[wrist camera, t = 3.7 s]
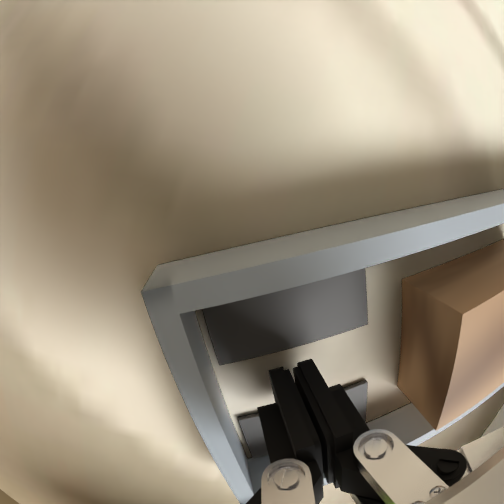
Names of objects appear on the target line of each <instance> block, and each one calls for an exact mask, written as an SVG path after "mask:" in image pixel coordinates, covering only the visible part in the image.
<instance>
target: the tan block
mask: <svg viewBox="0 0 504 504" xmlns="http://www.w3.org/2000/svg"><path fill="white" fill-rule="evenodd" d="M503 383H504V239H502V240H500V241H498V242H495V243H493V244H491V245H489V246H486V247H484V248H481V249H479V250H477V251H474V252H472V253H469V254H467V255H465V256H462V257H460V258H457V259H454V260H452V261H449V262H447V263H444V264H442V265H439V266H436V267H434V268H431V269H428V270H426V271H423V272H420V273H417V274H415V275H412V276H409V277H406V278H403V279H402V328H401V348H400V362H399V373H398V383H397V386H398V387H399V389H400V390H401V391H402V392H403V393H404V394H405V396H406V397H407V398H408V399H409V400H410V401H411V402H412V404H413V405H414V406H415V407H416V408H417V409H418V411H419V412H420V413H421V414H422V415H423V416H424V418H425V419H426V420H427V421H428V422H429V423H430V425H431V426H432V427H433V428H434V429H435V430H436V431H437V430H438V429H440V428H442V427H443V426H445V425H446V424H448V423H450V422H451V421H453V420H454V419H456V418H457V417H459V416H460V415H462V414H463V413H465V412H466V411H467V410H469V409H470V408H472V407H473V406H474V405H476V404H477V403H479V402H480V401H481V400H483V399H484V398H485V397H486V396H488V395H489V394H490V393H492V392H493V391H494V390H495V389H497V388H498V387H499V386H500V385H501V384H503Z"/></svg>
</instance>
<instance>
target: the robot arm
mask: <svg viewBox="0 0 504 504" xmlns="http://www.w3.org/2000/svg"><path fill="white" fill-rule="evenodd" d="M297 366H298V367H294V368H293V373H294V379H295V382H294V379H293V377H292V375H291V372H290V370H289V369H287V370H284V369H283V367H280V368H276V369H272V370H269V376H270V380H271V385H272V389H273V394H274V398H275V402H276V403H274V404H270V405H266V406H262V407H257V409H258V413H259V418H260V422H261V426H262V430H263V435H264V439H265V443H266V447H267V451H268V455H269V459H270V463H271V464H270V465H269V466H268V467H267V468H266V469H265V470H264V472H263V474H262V478H261V488H260V489H259V490H258V491H257V492H256V493H255V494H254V495H253V496H252V497H251V499H250V500H249V501H248V502H247V503H246V504H319V503H320V501H321V500H322V498H323V485H324V479H323V474H324V476H325V478H326V481H327V483H328V484H329V483H332V482H333V483H334V486H335V488H339V487H340V489H341V491H343V492H347V493H350V495H351V497H352V499H353V500H354V501H355V503H356V504H504V427H501V428H499V429H497V430H495V431H493V432H491V433H489V434H487V435H485V436H483V437H481V438H479V439H477V440H474V441H472V442H470V443H468V444H465V445H463V446H461V448H460V449H459V450H456V451H455V450H448V449H437V448H428V447H419V446H412V445H405V444H404V443H403V442H402V441H401V440H400V439H399V438H397V437H396V436H395V435H394V434H393V433H391V432H390V431H387V430H384V429H374V430H370V429H369V428H368V426H367V424H366V423H365V421H364V420H363V418H362V417H361V415H360V413H359V412H358V410H357V409H356V407H355V406H354V404H353V403H352V401H351V399H350V398H349V396H348V395H347V393H346V392H345V390H344V388H343V387H342V386H341V385H340V384H338V385H335V386H332V387H329V388H328V386H327V384H326V383H325V381H324V379H323V377H322V376H321V374H320V372H319V370H318V369H317V367H316V365H315V363H314V362H313V360H312V359H309V360H305V361H302V362H298V363H297Z"/></svg>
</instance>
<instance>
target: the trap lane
mask: <svg viewBox="0 0 504 504" xmlns="http://www.w3.org/2000/svg"><path fill="white" fill-rule="evenodd" d="M503 223H504V189H501V190H496V191H491V192H486V193H481V194H477V195H472V196H467V197H462V198H457V199H453V200H448V201H443V202H438V203H434V204H429V205H424V206H419V207H415V208H410V209H405V210H401V211H396V212H392V213H387V214H382V215H378V216H373V217H368V218H364V219H359V220H355V221H350V222H346V223H341V224H336V225H332V226H327V227H323V228H318V229H314V230H309V231H305V232H300V233H296V234H291V235H287V236H283V237H278V238H274V239H269V240H265V241H260V242H256V243H252V244H247V245H243V246H238V247H234V248H230V249H225V250H221V251H217V252H212V253H208V254H203V255H199V256H195V257H191V258H186V259H182V260H178V261H173V262H169V263H165V264H160V265H157V267H156V268H155V270H154V271H153V273H152V275H151V276H150V278H149V279H148V281H147V283H146V284H145V286H144V288H143V289H142V291H141V293H142V296H143V299H144V302H145V305H146V308H147V311H148V314H149V317H150V319H151V322H152V325H153V328H154V330H155V333H156V336H157V338H158V341H159V344H160V346H161V349H162V351H163V354H164V356H165V359H166V361H167V363H168V366H169V368H170V371H171V373H172V375H173V378H174V380H175V382H176V385H177V387H178V389H179V391H180V393H181V396H182V398H183V400H184V402H185V404H186V406H187V409H188V411H189V413H190V415H191V417H192V419H193V421H194V423H195V425H196V427H197V429H198V431H199V433H200V435H201V437H202V439H203V441H204V442H205V444H206V446H207V448H208V450H209V452H210V454H211V455H212V457H213V459H214V461H215V463H216V464H217V466H218V468H219V470H220V471H221V473H222V475H223V477H224V478H225V480H226V482H227V483H228V485H229V487H230V488H231V490H232V491H233V493H234V495H235V496H236V498H237V499H238V501H239V503H240V504H246V503H247V502H248V501H249V500H250V499H251V497H252V496H253V495H254V494H255V493H256V492H257V491H258V490H259V489H260V488H261V478H262V474H263V472H264V470H265V469H266V468H267V467H268V466H269V465H270V464H271V463H270V459H269V455H268V451H267V447H266V443H265V439H264V435H263V430H262V426H261V422H260V418H259V413H256V414H252V415H247V416H243V417H238V420H239V423H240V426H241V429H242V431H243V434H244V437H245V439H246V442H247V444H248V447H249V450H250V452H251V455H252V457H253V458H248V459H247V456H246V454H245V452H244V449H243V447H242V444H241V442H240V439H239V437H238V434H237V432H236V429H235V427H234V424H233V422H232V419H231V416H230V414H229V411H228V409H227V406H226V403H225V400H224V398H223V395H222V392H221V389H220V387H219V384H218V381H217V378H216V375H215V372H214V370H213V367H212V364H211V361H210V358H209V355H208V352H207V349H206V346H205V343H204V340H203V336H202V333H201V330H200V327H199V324H198V320H197V317H196V314H195V310H200V309H202V310H203V314H204V317H205V321H206V324H207V327H208V331H209V334H210V337H211V340H212V344H213V347H214V350H215V353H216V356H217V359H218V362H219V365H224V364H229V363H233V362H238V361H242V360H246V359H251V358H255V357H259V356H263V355H267V354H271V353H275V352H279V351H283V350H286V349H290V348H294V347H297V346H301V345H304V344H308V343H311V342H315V341H318V340H321V339H325V338H328V337H331V336H334V335H337V334H340V333H344V332H347V331H350V330H353V329H356V328H359V327H361V326H364V325H367V324H368V314H367V291H366V276H365V268H367V267H370V266H374V265H377V264H381V263H384V262H387V261H391V260H394V259H397V258H401V257H404V256H407V255H410V254H414V253H417V252H420V251H423V250H426V249H430V248H433V247H436V246H439V245H442V244H445V243H448V242H451V241H454V240H457V239H460V238H463V237H466V236H469V235H472V234H475V233H478V232H481V231H483V230H486V229H489V228H492V227H495V226H498V225H500V224H503ZM367 384H368V382H367V381H366V380H364V381H362V382H359V383H356V384H354V385H351V386H348V387H345V388H344V390H345V392H346V393H347V395H348V396H349V398H350V399H351V401H352V403H353V404H354V406H355V407H356V409H357V410H358V412H359V413H360V415H361V417H362V418H363V420H364V421H365V420H366V405H367ZM503 386H504V383H503V384H501V385H500V386H499V387H498V388H497V389H495V390H494V391H493V392H492V393H490V394H489V395H488V396H486V397H485V398H484V399H483V400H481V401H480V402H479V403H477V404H476V405H474V406H473V407H472V408H470V409H469V410H467V411H466V412H465V413H463V414H462V415H460V416H459V417H457V418H456V419H454V420H453V421H451V422H450V423H448V424H446V425H445V426H443V427H442V428H440V429H438V430H437V431H436V430H435V429H434V428H433V427H432V426H431V425H430V423H429V422H428V421H427V420H426V419H425V418H424V416H423V415H422V414H421V413H420V412H419V411H418V409H417V408H416V407H415V406H414V405H413V404H412V403H410V404H408V405H406V406H404V407H402V408H399V409H397V410H395V411H393V412H391V413H389V414H387V415H384V416H382V417H380V418H377V419H375V420H373V421H370V422H368V423H366V424H367V426H368V428H369V429H370V430H374V429H384V430H387V431H390V432H391V433H393V434H394V435H395V436H396V437H397V438H399V439H400V440H401V441H402V442H403V443H404V444H405V445H412V446H417V445H419V444H421V443H423V442H424V441H426V440H428V439H430V438H431V437H433V436H435V435H436V434H438V433H440V432H441V431H443V430H445V429H446V428H448V427H449V426H451V425H452V424H454V423H456V422H457V421H459V420H460V419H461V418H463V417H464V416H466V415H467V414H469V413H470V412H471V411H473V410H474V409H476V408H477V407H478V406H480V405H481V404H482V403H484V402H485V401H486V400H488V399H489V398H490V397H491V396H493V395H494V394H495V393H496V392H498V391H499V390H500V389H501V388H502V387H503ZM323 479H324V485H327V484H328V483H327V481H326V478H325V476H324V474H323ZM332 483H333V482H332ZM329 484H330V483H329ZM324 485H323V486H324Z"/></svg>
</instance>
